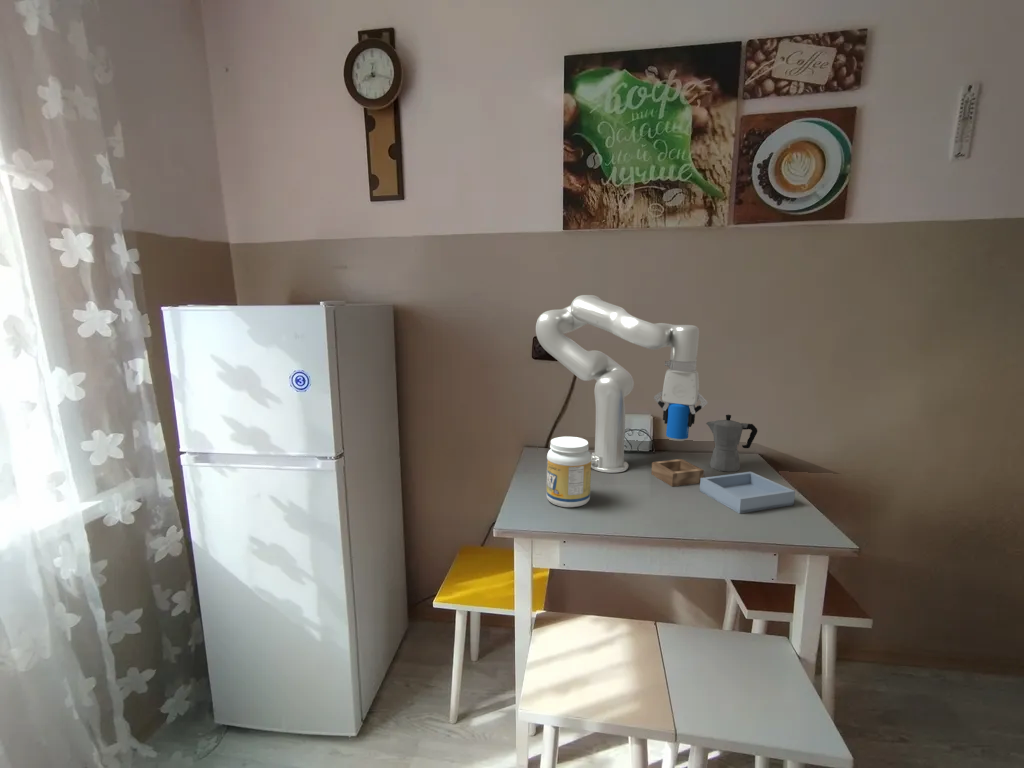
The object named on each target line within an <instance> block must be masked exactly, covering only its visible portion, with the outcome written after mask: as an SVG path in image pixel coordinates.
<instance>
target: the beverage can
mask: <svg viewBox="0 0 1024 768" xmlns="http://www.w3.org/2000/svg"><path fill="white" fill-rule="evenodd" d="M690 412H691V411H690V408H689V406H688V405H682V404H669V406H668V419H667V424H666V431H665V435H666V437H667V439H669V440H671V441H675V442H676V441H677V442H684V441H686V440H687V439H688V438H689V432H690V427H689V426H688V423H689V414H690Z"/></svg>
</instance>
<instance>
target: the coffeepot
mask: <svg viewBox="0 0 1024 768" xmlns="http://www.w3.org/2000/svg"><path fill="white" fill-rule="evenodd" d="M731 418H732V415H731V414H726V415H725V419H719V420H718V419H717V420H714V421H712V420H711V421H707V422H706V423H705V424H706V425H707V426H708V427H709V429H710V431H711V433H712V435H713V442H714V443H715V444H714V445H715V447H714V448H713V450H712V455H711V458H710V462H709V466H710V468H711V469H712V470H715V469H716V470H715V471H718V470H720V471H719V472H723V471H725V472H726V473H735V471H736V472H738V471H739V470H740V469H741V466H740V465H741V463H740V456H739V450H738V446H739V444H740V442H741V437H742V432H743V431H744V430H750V431H751V432H750V433H749V436H748V439H747V441H746V444H742V448H743V449H749V448H750V449H751V445H752V443H753V442H754V440H755V437H756V435H757V433H758V428H757V427H756V426H755V424H753V423H746V422H739V421H736V420H731ZM725 472H724V473H725Z"/></svg>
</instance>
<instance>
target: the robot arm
mask: <svg viewBox="0 0 1024 768" xmlns="http://www.w3.org/2000/svg"><path fill="white" fill-rule="evenodd" d="M536 320H537V321H536V324H535V335H536V339H537V340H538V343H539V344H540V346H541V347H542V348H543V349H544V350H545V351H546V352H547V353H548V354H549V355H550V356H552V357H553V358H554V359H555V360H557V361H558V362H559V363H560V364H561V365H562V366H564V367H565V368H566V369H567V370H569V372H571V373H572V374H573V375H575V376H576V377H577V378H578V379H580V380H581V381H585V382H589V381H592V380H595V381H596V382H595V384H594V385H595V386H594V392H593V393H594V394H593V395H594V402H595V433H594V434H595V435H594V436H595V437H594V452H591V458H592V459H591V469H592V470H595V471H598V472H600V473H609V474H610V473H611V474H615V473H622V472H625V471H627V470H628V469H629V463H628V462H627V461H625V438H626V437H625V436H626V434H625V433H626V404H625V397H627V396H628V395H630V393H631V392H632V391H633V390H634V386H635V381H634V378H633V375H632V374H631V373H630V372H629V371H628V370H627V369H625V368H624V367H623V366H622V365H620V364H619V363H618V362H617V361H615V360H614V359H613V358H612V357H610V356H609V355H607V354H606V353H604V352H602V351H600V350H595V349H592V350H586V349H585V348H583V347H582V346H581V345H579V344H578V343H577V342H576V341H574V340H573V339H572V338H570V337H568V336H566V335H565V334H568V333H571V332H574V331H576V330H578V329H579V328H581V327H584V326H586V325H589V326H592V327H595V328H598V329H601V330H603V331H606V332H609V333H611V334H613V335H614V336H616V337H618V338H621V339H622V340H624V341H627V342H629V343H631V344H634V345H636V346H640V347H642V348H644V349H649V350H654V351H655V350H660V349H662V348H666V347H667V348H668V347H670V359H669V360H667V361H666V360H665V361H664V366H667V367H668V369H666V371H665V375H664V380H663V386H662V387H663V388H662V390H661V391H659V392H658V393H657V394H655V395H654V396H653V400H654V401H655V402H656V403H657V404H658V406H659V407H660V408H661V409H662V411H663V412H662V414H663V415H662V421H664V425H665V424H666V425H667V419H668V406H669V404H682V405H688V406H689V408H690V414H689V423H688V426H689V428H691V427H692V426H693V425H694V424H695V419H696V414H697V413H698V412H699V411H701V409H703V408H704V407H705V406H706V405H708V403H709V402H708V400H707V399H705V398H704V396H703V395H702V394H701V393H700V392H699V391H700V379H699V371H697V361H698V360H697V359H698V348H699V340H700V339H699V337H700V329H699V327H698V326H696V325H692V324H671V323H666V322H658V323H653V322H650V321H646V320H644V319H641V318H638V317H636V316H634V315H631V314H630V313H629V312H627V310H626V309H625V308H624V307H621V306H619V305H615V304H613V303H611V302H607V301H605V300H602V299H601V297H600V296H597V295H594V294H581V295H578V296H576V297H575V298H574V299H573V300H572V301H571V304H570V305H568V306H565V307H564V308H561V309H550V310H546V311H544V312H542V313H541V314H540V315H539V316H538V318H537V319H536ZM698 401H699V402H700V403H699V405H697V403H698ZM696 405H697V406H696Z"/></svg>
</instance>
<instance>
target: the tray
mask: <svg viewBox="0 0 1024 768" xmlns="http://www.w3.org/2000/svg"><path fill="white" fill-rule="evenodd" d="M699 492H700V493H702V494H703V495H705V496H707V497H709V498H711V499H712V500H714V501H716V502H718V503H720V504H721V505H724V506H725V507H727V508H729V509H731V511H734V512H736V513H738V514H739V513H740V514H747V513H752V512H758V511H765V510H770V509H771V510H772V509H776V508H777V509H778V508H782V507H783V508H784V507H790V506H794V504H795V497H796V496H795V495H796V491H795V490H793V489H791V488H789V487H787V486H784V485H783V484H780V483H778V482H776V481H773V480H771V479H769V478H766V477H764V476H762V475H759V474H757V473H755V472H753V471H745V472H737V473H729V474H722V475H716V476H714V475H713V476H706V477H703V478H701V479H700V483H699Z"/></svg>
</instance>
